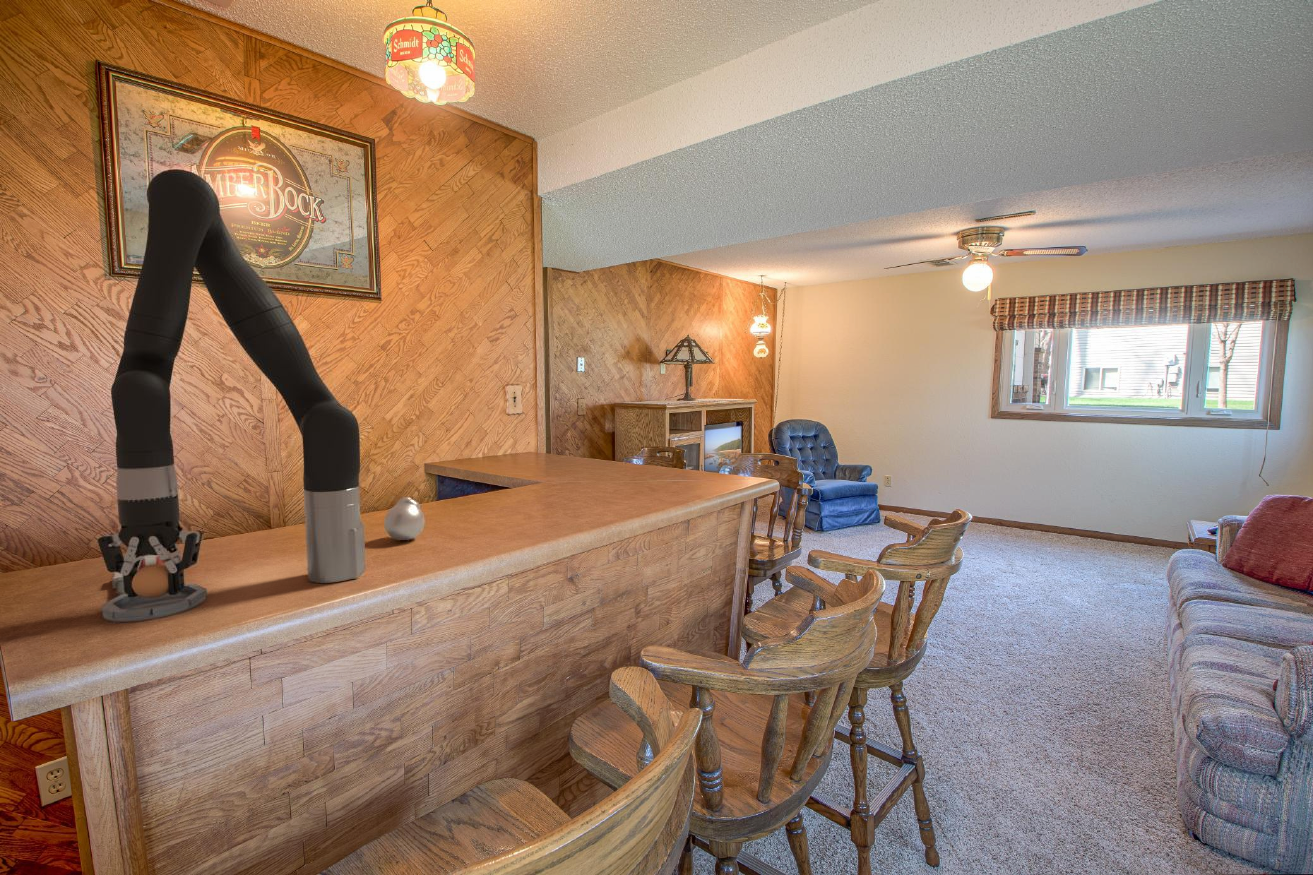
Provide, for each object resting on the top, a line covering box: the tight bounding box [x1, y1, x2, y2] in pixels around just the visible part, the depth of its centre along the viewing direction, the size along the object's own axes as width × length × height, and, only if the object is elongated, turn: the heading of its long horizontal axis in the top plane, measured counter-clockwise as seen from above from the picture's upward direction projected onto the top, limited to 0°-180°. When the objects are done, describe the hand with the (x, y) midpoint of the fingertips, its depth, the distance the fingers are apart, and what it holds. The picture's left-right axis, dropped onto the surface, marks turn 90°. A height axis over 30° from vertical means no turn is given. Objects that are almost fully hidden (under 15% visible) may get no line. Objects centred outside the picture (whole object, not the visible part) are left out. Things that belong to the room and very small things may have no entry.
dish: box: [101, 582, 208, 623], centre depth 97 cm, size 13×13×2 cm
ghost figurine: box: [383, 496, 426, 541], centre depth 139 cm, size 9×9×10 cm
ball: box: [132, 564, 170, 598], centre depth 97 cm, size 6×6×6 cm
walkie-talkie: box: [111, 555, 165, 597], centre depth 109 cm, size 9×4×20 cm
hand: (155, 594), depth 97 cm, fingers closed on ball, 5 cm apart
